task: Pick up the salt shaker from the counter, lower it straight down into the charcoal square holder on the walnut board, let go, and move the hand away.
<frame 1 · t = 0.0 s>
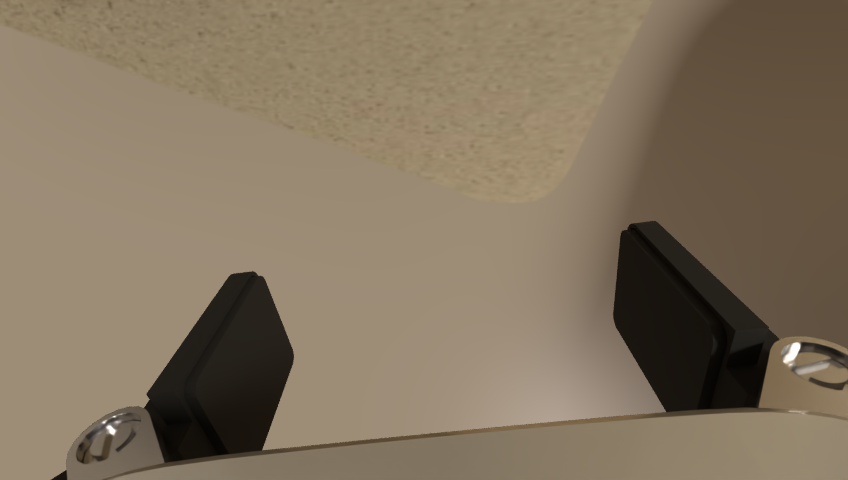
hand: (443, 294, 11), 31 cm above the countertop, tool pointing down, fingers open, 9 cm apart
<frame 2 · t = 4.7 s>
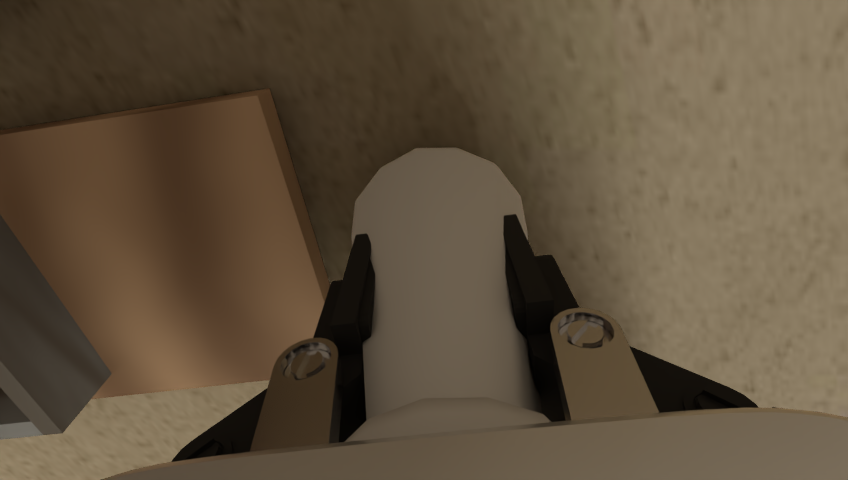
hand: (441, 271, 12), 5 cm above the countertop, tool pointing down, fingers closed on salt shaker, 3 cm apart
salt shaker: (436, 201, 17), on the countertop, touching gripper
shaker caddy: (84, 272, 18), on the countertop
when the fingers open (7 cm above the countertop, at t = 10.8 s): salt shaker drops 1 cm, resting on shaker caddy.
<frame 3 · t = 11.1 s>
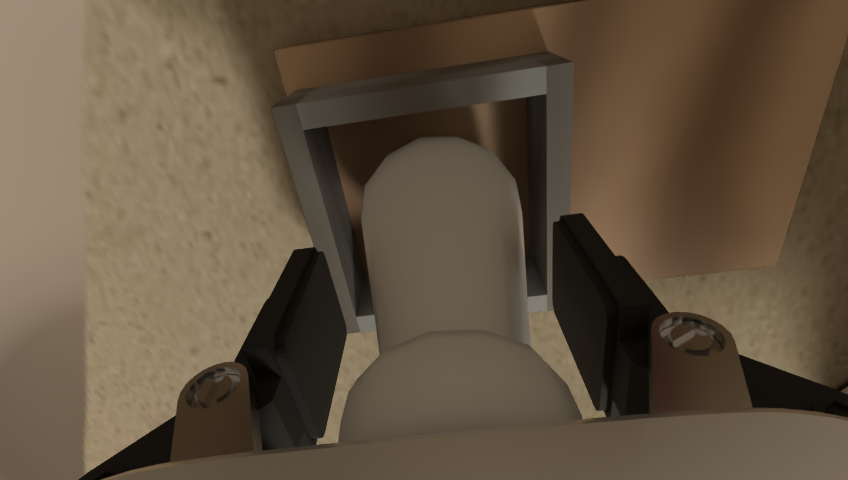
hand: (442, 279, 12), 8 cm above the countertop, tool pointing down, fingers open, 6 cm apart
salt shaker: (438, 187, 18), point 1 cm above the countertop, touching shaker caddy
shaker caddy: (550, 162, 18), on the countertop
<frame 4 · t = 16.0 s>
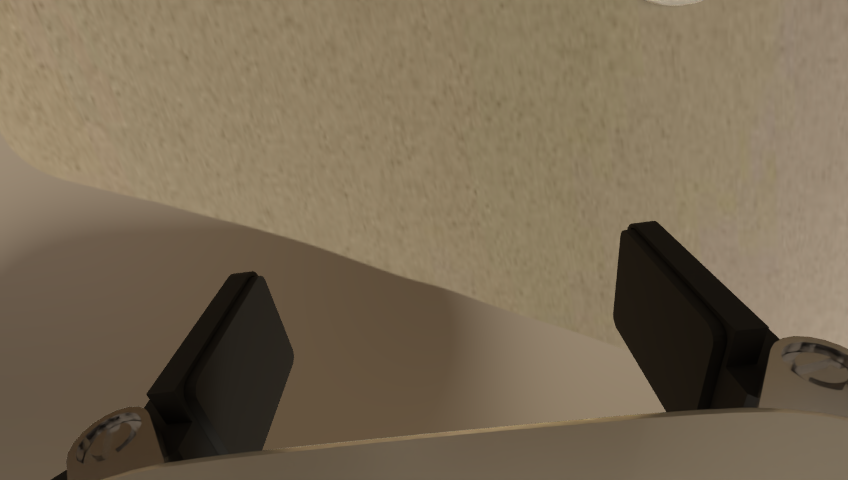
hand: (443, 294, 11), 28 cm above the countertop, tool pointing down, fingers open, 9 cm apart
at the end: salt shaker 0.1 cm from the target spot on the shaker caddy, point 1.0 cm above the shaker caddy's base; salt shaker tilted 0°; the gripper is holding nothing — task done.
